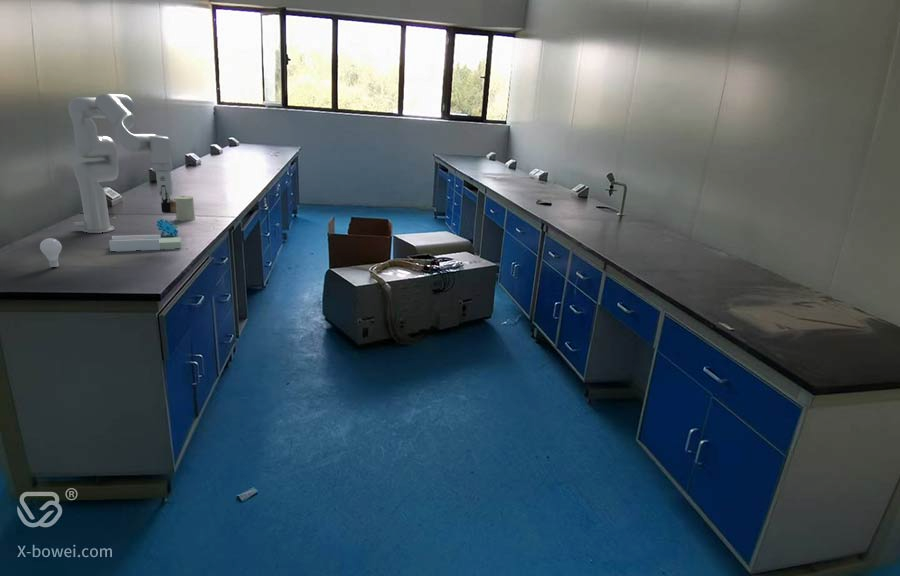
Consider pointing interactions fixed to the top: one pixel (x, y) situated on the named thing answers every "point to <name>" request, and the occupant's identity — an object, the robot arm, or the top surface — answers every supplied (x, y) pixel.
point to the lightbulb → (51, 250)
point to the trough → (143, 243)
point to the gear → (167, 228)
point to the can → (185, 208)
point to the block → (172, 207)
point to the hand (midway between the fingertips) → (166, 210)
